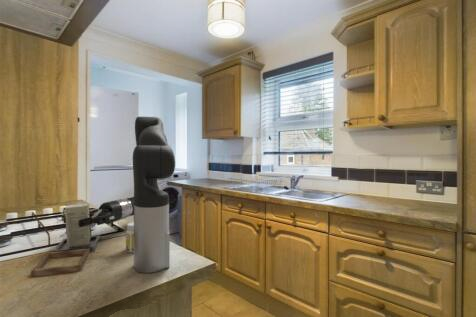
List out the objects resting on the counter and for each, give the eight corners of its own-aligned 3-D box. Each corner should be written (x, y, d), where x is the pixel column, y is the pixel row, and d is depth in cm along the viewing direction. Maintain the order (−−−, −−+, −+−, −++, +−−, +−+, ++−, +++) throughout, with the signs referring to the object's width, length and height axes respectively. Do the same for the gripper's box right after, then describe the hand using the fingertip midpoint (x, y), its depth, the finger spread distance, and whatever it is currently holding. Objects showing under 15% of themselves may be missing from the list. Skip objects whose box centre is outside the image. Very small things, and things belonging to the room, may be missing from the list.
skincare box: (90, 238, 88) (90, 202, 87) (89, 243, 84) (88, 205, 83) (68, 241, 85) (67, 204, 85) (65, 246, 81) (64, 207, 81)
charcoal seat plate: (100, 239, 92) (100, 235, 92) (94, 251, 81) (94, 247, 81) (63, 242, 88) (63, 238, 88) (52, 255, 78) (52, 251, 78)
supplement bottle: (144, 247, 85) (144, 221, 85) (137, 253, 81) (137, 226, 80) (130, 246, 86) (130, 221, 86) (122, 252, 81) (122, 225, 81)
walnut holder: (89, 253, 80) (89, 248, 80) (80, 270, 69) (80, 265, 69) (48, 257, 76) (47, 252, 76) (31, 276, 65) (31, 271, 65)
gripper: (102, 198, 100) (57, 207, 85) (130, 202, 94) (86, 213, 79) (103, 217, 101) (57, 230, 86) (130, 223, 94) (86, 237, 79)
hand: (71, 222), depth 82 cm, fingers closed on skincare box, 7 cm apart
